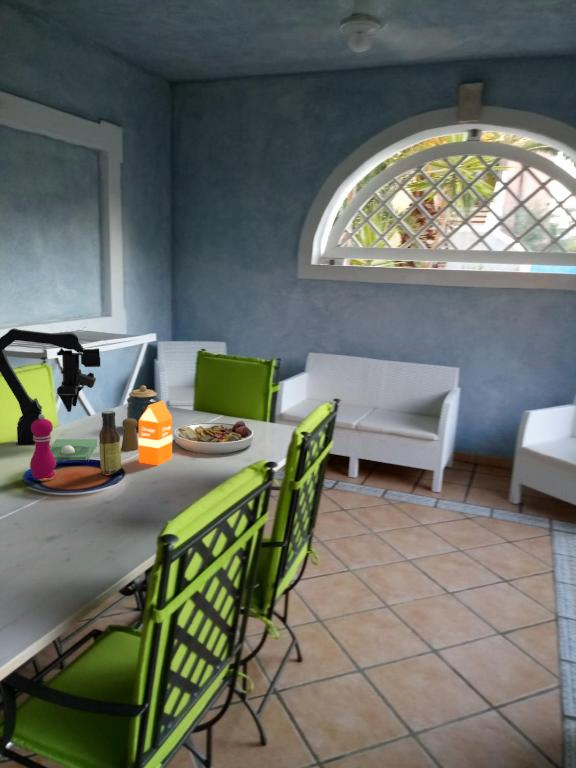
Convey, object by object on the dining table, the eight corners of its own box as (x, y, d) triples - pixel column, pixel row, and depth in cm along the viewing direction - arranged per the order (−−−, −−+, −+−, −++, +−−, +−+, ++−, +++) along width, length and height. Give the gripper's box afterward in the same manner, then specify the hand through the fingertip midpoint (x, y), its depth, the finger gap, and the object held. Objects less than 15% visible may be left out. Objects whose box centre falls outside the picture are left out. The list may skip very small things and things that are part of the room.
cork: (133, 451, 203) (133, 421, 201) (118, 449, 204) (117, 420, 202) (141, 447, 209) (141, 417, 207) (126, 445, 210) (126, 416, 208)
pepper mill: (31, 483, 168) (28, 417, 164) (29, 476, 174) (27, 412, 171) (57, 480, 171) (55, 415, 168) (55, 473, 178) (53, 410, 174)
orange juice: (138, 462, 192) (138, 404, 188) (153, 455, 200) (153, 399, 196) (158, 465, 189) (158, 406, 186) (172, 458, 197) (173, 401, 194)
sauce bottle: (125, 471, 182) (124, 411, 178) (113, 477, 176) (112, 415, 172) (107, 468, 184) (107, 408, 180) (95, 474, 178) (94, 412, 174)
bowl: (200, 461, 196) (201, 439, 195) (159, 441, 219) (159, 421, 217) (269, 448, 216) (269, 428, 214) (224, 430, 238) (224, 412, 237)
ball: (64, 442, 190) (66, 443, 195) (56, 454, 189) (59, 454, 193) (76, 449, 191) (78, 449, 195) (69, 461, 190) (71, 461, 194)
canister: (134, 422, 243) (134, 381, 240) (163, 424, 241) (163, 383, 238) (121, 430, 230) (121, 387, 227) (152, 432, 229) (152, 389, 226)
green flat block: (56, 445, 206) (56, 439, 205) (97, 445, 208) (97, 439, 208) (41, 464, 185) (41, 456, 185) (86, 464, 188) (86, 456, 187)
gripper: (89, 371, 201) (90, 414, 204) (98, 363, 219) (98, 403, 222) (56, 371, 199) (57, 414, 202) (67, 363, 217) (68, 403, 220)
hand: (72, 408), depth 212 cm, fingers open, 9 cm apart
